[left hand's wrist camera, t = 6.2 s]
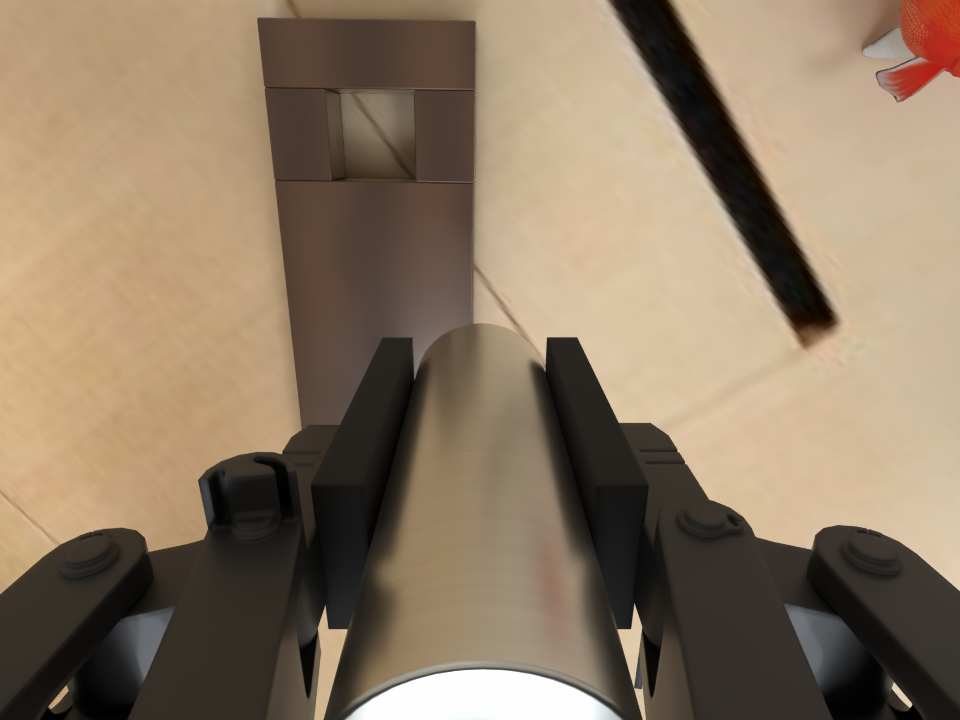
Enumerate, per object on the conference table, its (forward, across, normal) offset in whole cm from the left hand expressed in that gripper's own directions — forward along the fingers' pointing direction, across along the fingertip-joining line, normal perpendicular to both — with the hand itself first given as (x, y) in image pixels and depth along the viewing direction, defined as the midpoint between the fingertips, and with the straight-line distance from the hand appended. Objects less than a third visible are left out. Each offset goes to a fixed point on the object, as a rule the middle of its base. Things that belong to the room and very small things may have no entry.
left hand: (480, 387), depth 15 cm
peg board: (+19, +5, +1) cm, 20 cm away
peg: (0, 0, 0) cm, 0 cm away
